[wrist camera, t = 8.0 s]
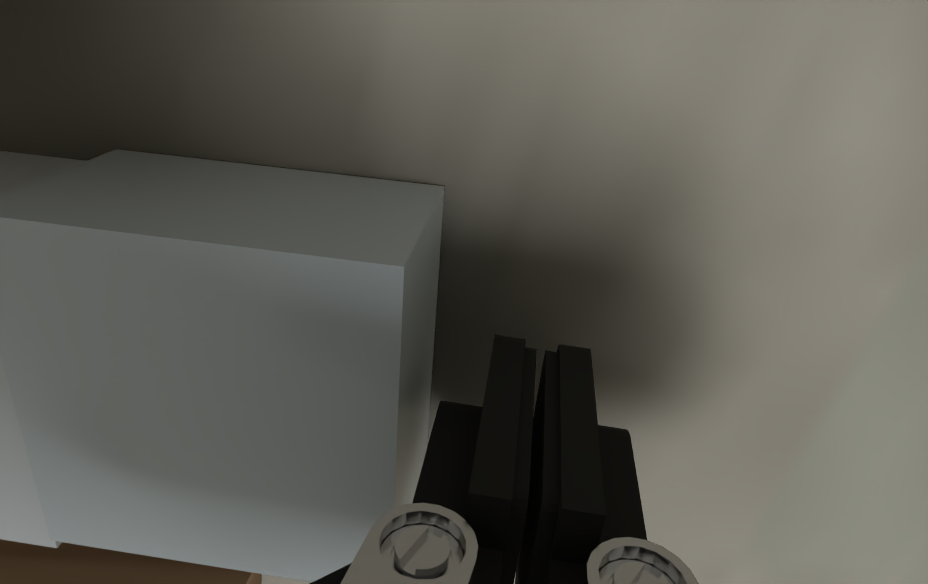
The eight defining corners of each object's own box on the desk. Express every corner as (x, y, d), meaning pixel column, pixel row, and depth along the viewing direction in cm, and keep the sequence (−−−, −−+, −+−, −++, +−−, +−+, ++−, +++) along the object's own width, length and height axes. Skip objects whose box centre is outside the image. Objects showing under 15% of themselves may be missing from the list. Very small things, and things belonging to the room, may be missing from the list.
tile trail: (115, 149, 12) (-39, 212, 9) (444, 186, 12) (404, 266, 8) (157, 418, 15) (50, 540, 12) (426, 456, 14) (390, 594, 11)
